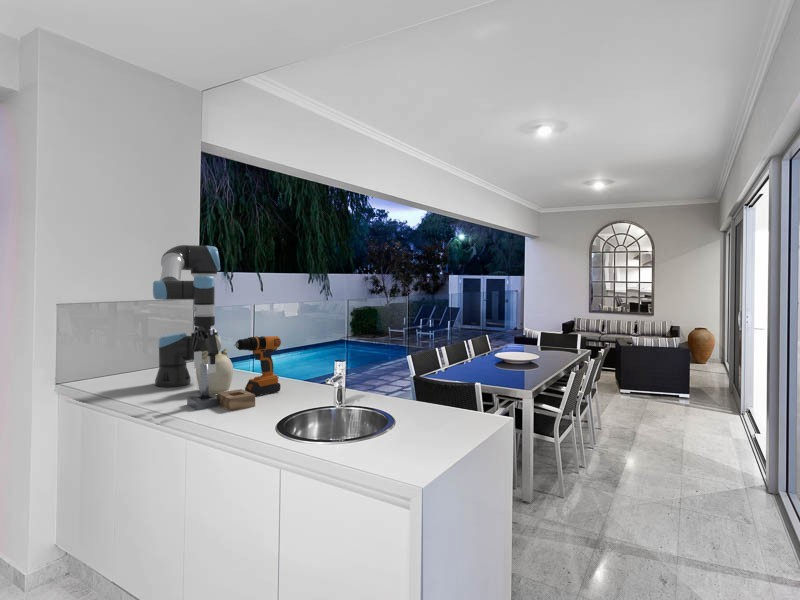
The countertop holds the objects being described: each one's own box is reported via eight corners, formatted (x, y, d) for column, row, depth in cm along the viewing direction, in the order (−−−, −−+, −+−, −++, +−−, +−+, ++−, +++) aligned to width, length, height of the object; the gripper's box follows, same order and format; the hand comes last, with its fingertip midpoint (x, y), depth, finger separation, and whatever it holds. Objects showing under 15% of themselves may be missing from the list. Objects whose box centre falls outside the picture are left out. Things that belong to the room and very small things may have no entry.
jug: (203, 397, 204) (203, 337, 203) (191, 390, 216) (190, 334, 215) (238, 391, 214) (238, 335, 213) (225, 385, 226) (224, 331, 225)
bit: (199, 404, 190) (198, 364, 189) (207, 403, 192) (207, 363, 192) (202, 406, 188) (202, 365, 187) (210, 405, 190) (210, 364, 189)
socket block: (187, 405, 190) (187, 397, 190) (212, 401, 197) (212, 393, 197) (196, 411, 183) (196, 402, 183) (222, 406, 190) (222, 397, 190)
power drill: (240, 399, 200) (239, 339, 199) (230, 396, 205) (230, 337, 204) (284, 391, 216) (284, 335, 215) (274, 388, 221) (274, 333, 220)
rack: (217, 405, 191) (217, 392, 191) (241, 401, 198) (241, 389, 198) (230, 412, 183) (230, 398, 182) (255, 407, 190) (255, 394, 189)
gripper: (182, 314, 195) (183, 367, 196) (207, 318, 177) (207, 376, 177) (201, 313, 200) (201, 364, 201) (227, 317, 182) (227, 373, 183)
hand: (204, 370), depth 189 cm, fingers open, 13 cm apart
